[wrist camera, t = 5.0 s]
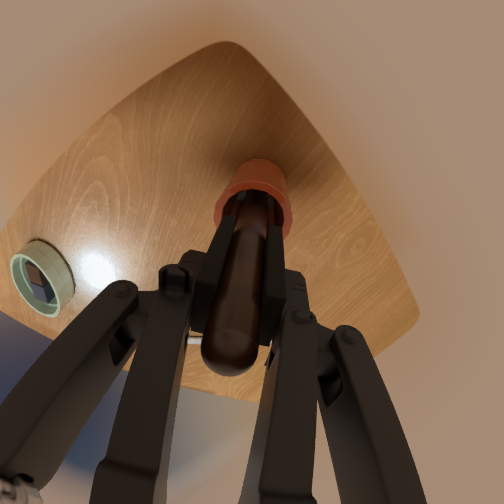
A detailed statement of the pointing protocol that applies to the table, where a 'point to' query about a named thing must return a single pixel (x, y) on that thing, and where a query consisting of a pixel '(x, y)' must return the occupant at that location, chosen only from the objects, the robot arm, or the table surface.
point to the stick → (239, 294)
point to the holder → (260, 178)
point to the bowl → (53, 272)
